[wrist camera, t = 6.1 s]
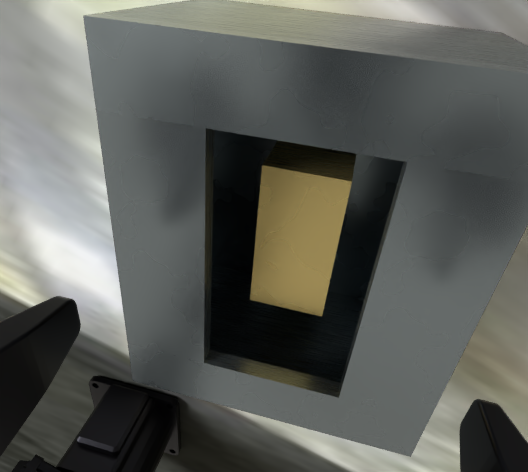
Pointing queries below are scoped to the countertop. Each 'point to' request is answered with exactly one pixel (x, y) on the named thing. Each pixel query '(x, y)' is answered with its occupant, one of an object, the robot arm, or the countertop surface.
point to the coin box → (356, 215)
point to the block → (299, 224)
